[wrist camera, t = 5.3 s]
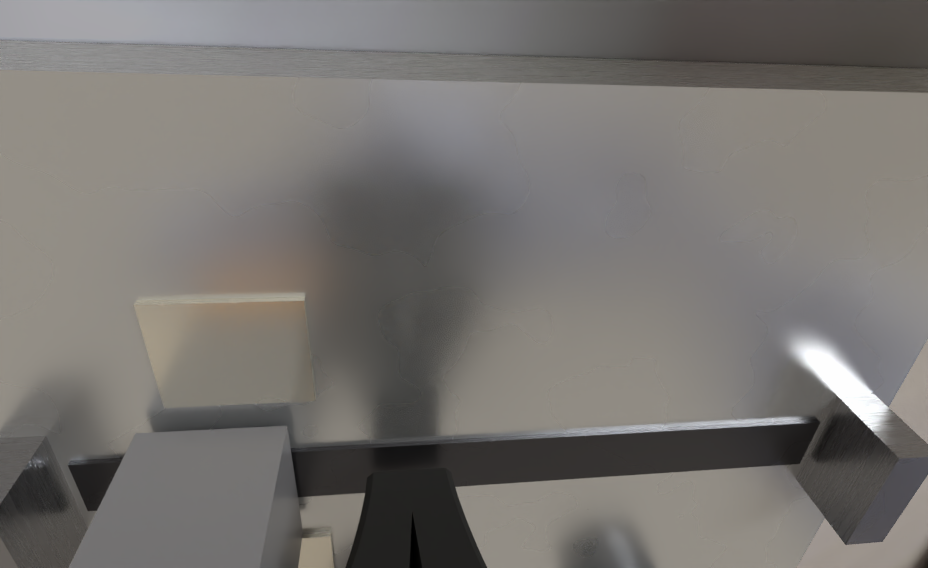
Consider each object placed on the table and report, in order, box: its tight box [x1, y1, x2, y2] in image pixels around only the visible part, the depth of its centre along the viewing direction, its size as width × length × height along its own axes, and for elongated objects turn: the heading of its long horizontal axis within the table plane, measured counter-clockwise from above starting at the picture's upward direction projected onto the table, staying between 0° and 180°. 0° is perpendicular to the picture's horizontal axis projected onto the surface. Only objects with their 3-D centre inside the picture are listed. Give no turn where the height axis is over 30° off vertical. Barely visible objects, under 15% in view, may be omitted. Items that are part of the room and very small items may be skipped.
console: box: [0, 40, 928, 568], centre depth 11 cm, size 14×17×4 cm
